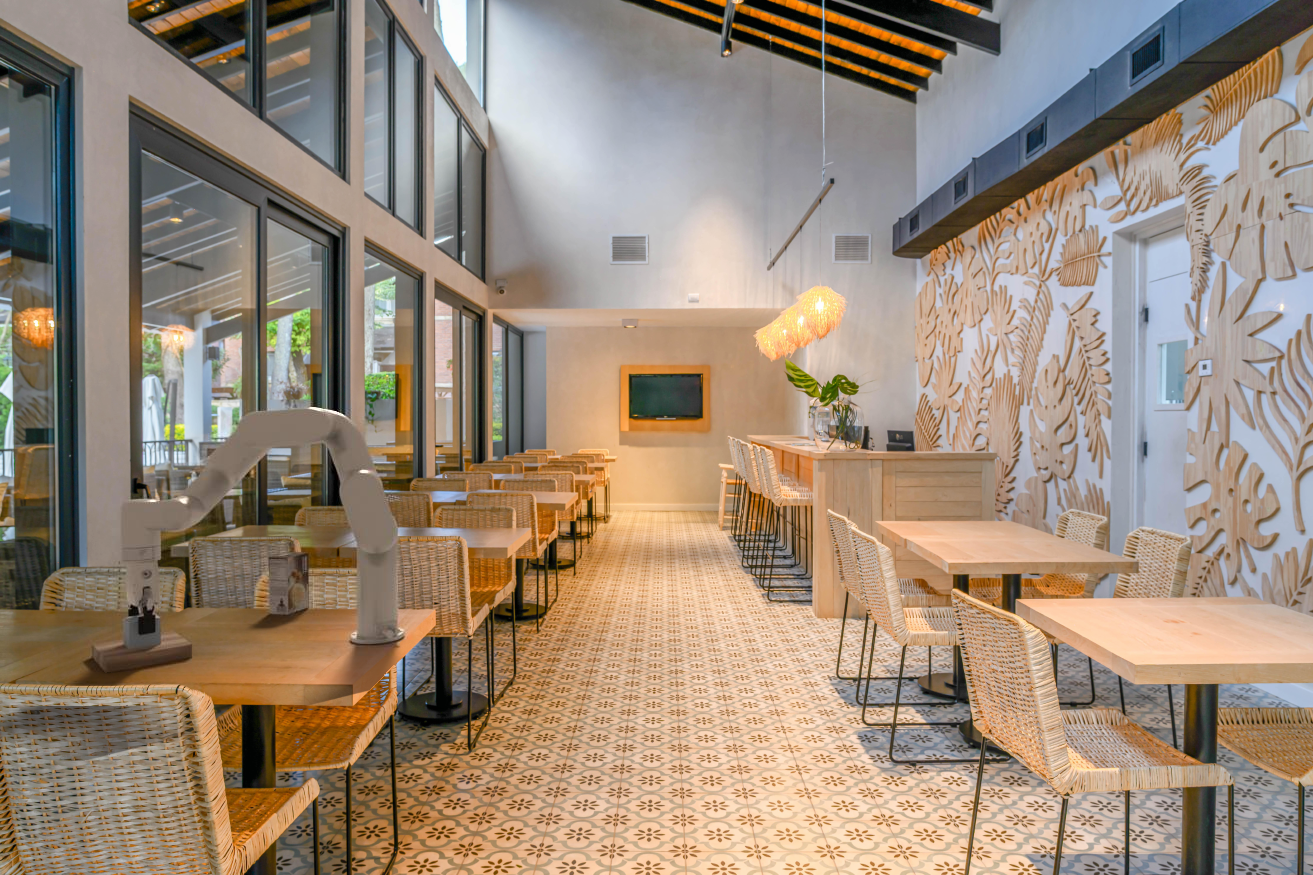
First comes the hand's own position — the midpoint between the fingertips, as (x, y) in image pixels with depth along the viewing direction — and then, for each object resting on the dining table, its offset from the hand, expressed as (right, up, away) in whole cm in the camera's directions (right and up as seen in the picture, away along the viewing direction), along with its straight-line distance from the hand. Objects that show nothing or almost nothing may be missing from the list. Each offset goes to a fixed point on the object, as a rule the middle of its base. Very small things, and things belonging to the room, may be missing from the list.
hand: (141, 629), depth 174 cm
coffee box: (+12, -6, +45) cm, 47 cm away
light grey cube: (0, -3, 0) cm, 3 cm away
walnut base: (0, -6, 0) cm, 6 cm away
